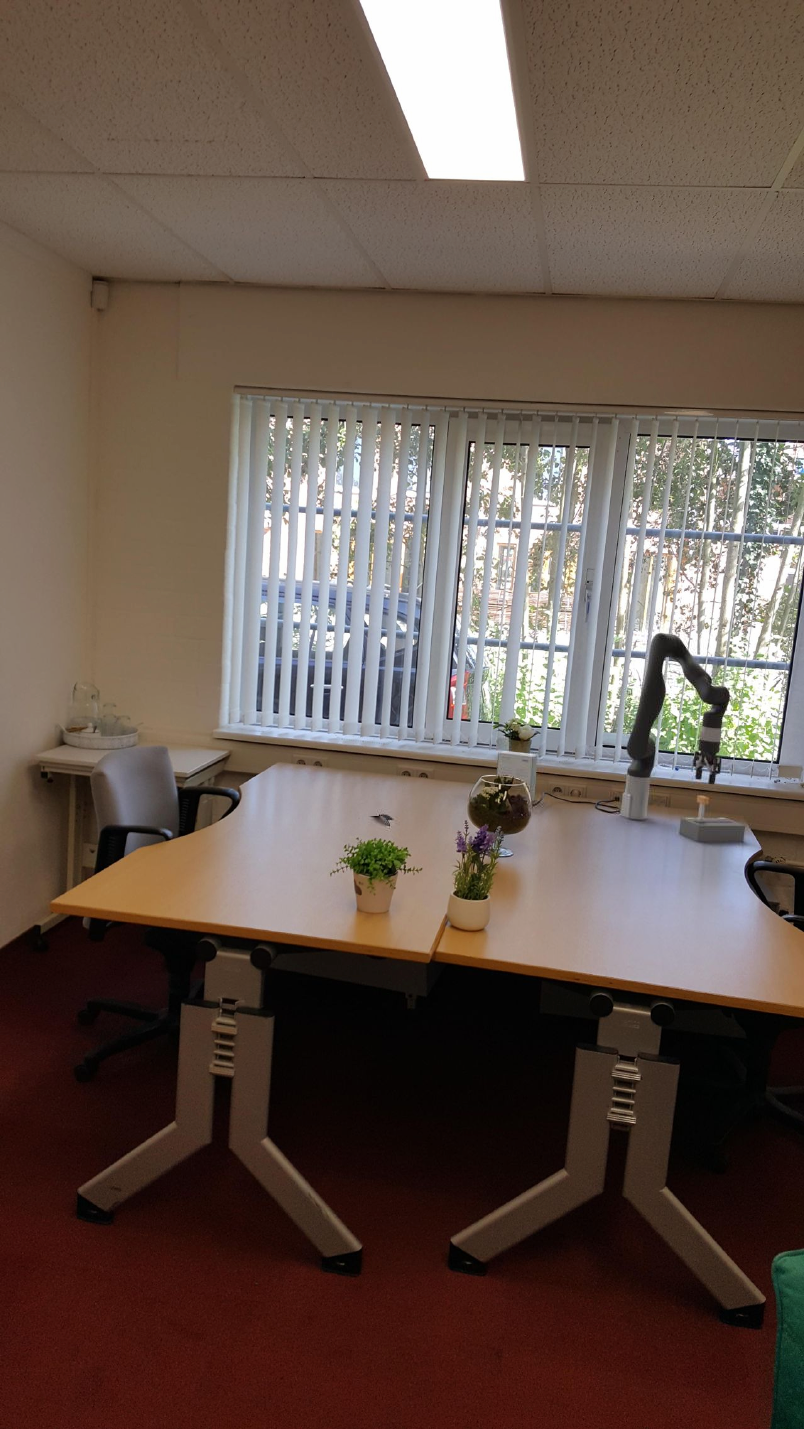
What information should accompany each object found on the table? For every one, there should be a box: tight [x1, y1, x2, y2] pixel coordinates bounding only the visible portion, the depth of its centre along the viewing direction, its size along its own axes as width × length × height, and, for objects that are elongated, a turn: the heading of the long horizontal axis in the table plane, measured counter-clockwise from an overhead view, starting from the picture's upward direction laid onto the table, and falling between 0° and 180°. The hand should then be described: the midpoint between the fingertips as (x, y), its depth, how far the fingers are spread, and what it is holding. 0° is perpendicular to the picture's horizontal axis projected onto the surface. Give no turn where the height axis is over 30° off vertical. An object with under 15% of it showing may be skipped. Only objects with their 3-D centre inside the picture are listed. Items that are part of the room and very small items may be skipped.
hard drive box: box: [496, 750, 538, 802], centre depth 407 cm, size 16×8×20 cm, turn 65°
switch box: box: [678, 817, 746, 843], centre depth 365 cm, size 20×12×6 cm, turn 106°
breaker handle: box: [694, 795, 710, 822], centre depth 363 cm, size 3×4×9 cm
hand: (704, 781), depth 361 cm, fingers open, 8 cm apart
